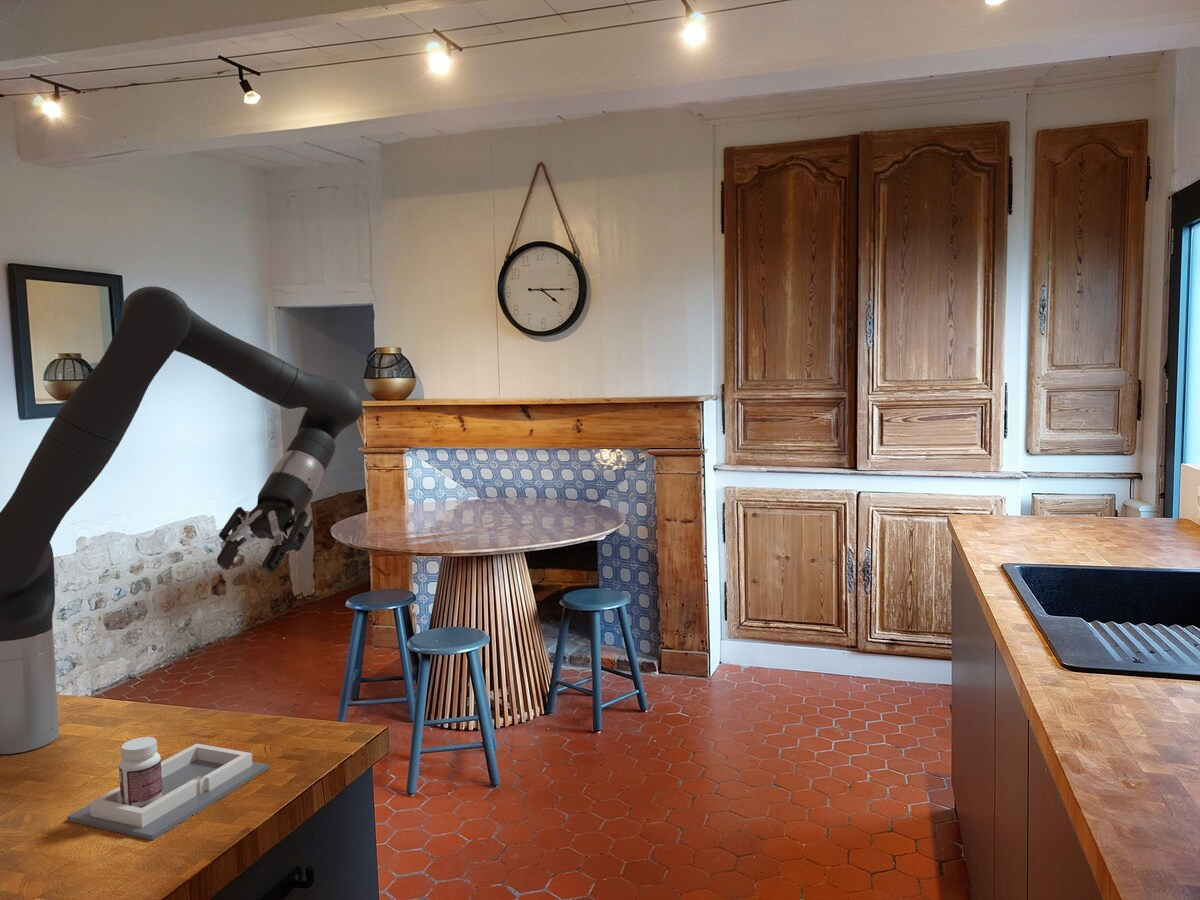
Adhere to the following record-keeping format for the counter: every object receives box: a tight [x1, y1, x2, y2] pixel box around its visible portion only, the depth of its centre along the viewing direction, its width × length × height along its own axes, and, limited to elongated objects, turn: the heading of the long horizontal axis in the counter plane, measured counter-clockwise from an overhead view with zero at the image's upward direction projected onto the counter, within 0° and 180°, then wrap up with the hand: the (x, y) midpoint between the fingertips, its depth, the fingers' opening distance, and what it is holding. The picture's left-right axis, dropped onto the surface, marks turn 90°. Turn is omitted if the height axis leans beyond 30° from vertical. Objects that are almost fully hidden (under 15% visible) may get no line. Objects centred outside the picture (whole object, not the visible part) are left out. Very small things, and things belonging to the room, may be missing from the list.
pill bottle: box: [118, 736, 163, 808], centre depth 109 cm, size 5×5×8 cm
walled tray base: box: [66, 743, 270, 841], centre depth 114 cm, size 14×20×2 cm
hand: (244, 568), depth 129 cm, fingers open, 8 cm apart
